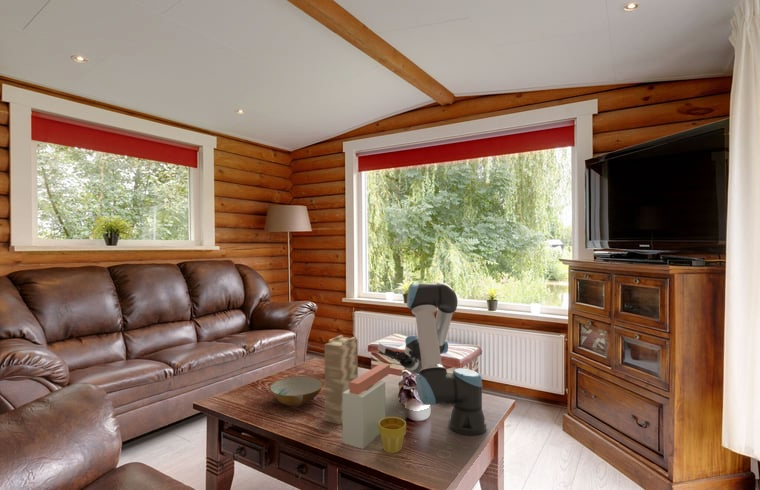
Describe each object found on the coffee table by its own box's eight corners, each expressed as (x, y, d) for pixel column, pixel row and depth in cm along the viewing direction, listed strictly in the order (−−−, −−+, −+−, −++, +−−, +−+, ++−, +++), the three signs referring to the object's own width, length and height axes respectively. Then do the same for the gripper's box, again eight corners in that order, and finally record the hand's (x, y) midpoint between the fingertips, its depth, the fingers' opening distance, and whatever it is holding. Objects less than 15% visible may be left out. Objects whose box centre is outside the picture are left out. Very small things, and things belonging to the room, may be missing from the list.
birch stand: (342, 407, 187) (342, 334, 186) (359, 411, 183) (359, 336, 182) (323, 420, 174) (322, 341, 173) (340, 424, 169) (340, 344, 169)
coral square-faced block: (381, 372, 177) (381, 363, 176) (389, 373, 175) (389, 364, 175) (349, 392, 154) (349, 382, 154) (358, 394, 152) (358, 383, 152)
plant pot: (403, 458, 144) (402, 431, 144) (375, 453, 147) (375, 427, 147) (408, 443, 154) (408, 418, 154) (382, 440, 157) (382, 415, 156)
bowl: (329, 406, 187) (329, 389, 187) (275, 417, 177) (275, 399, 176) (314, 388, 210) (314, 373, 210) (265, 396, 199) (265, 380, 199)
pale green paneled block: (366, 423, 170) (366, 377, 170) (385, 428, 166) (385, 381, 165) (342, 443, 154) (342, 392, 154) (362, 448, 150) (362, 396, 150)
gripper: (431, 372, 192) (415, 359, 175) (384, 365, 203) (366, 352, 187) (433, 356, 195) (419, 343, 179) (387, 350, 207) (370, 337, 190)
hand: (392, 347), depth 183 cm, fingers open, 13 cm apart
